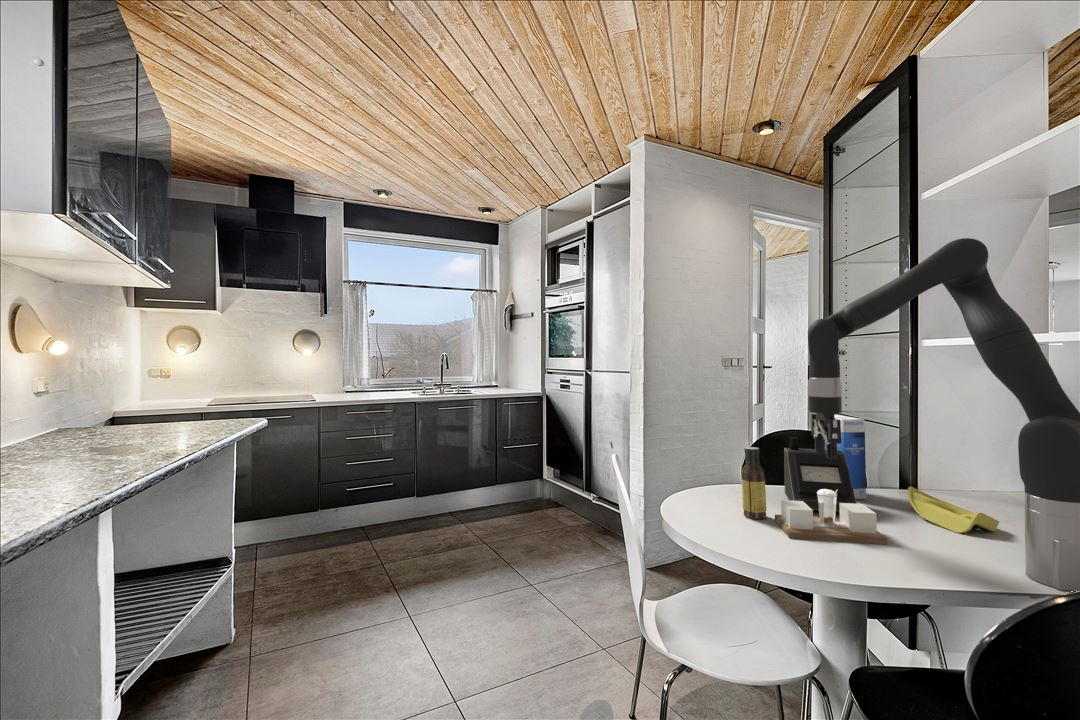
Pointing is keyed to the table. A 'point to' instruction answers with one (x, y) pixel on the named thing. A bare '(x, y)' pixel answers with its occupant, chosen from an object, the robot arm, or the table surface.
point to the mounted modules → (850, 515)
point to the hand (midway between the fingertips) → (825, 455)
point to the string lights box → (854, 451)
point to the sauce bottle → (753, 485)
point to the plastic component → (949, 513)
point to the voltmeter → (815, 475)
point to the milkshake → (827, 506)
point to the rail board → (830, 532)
